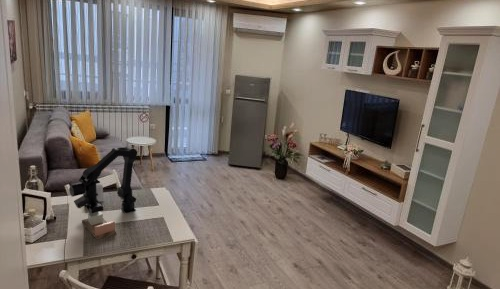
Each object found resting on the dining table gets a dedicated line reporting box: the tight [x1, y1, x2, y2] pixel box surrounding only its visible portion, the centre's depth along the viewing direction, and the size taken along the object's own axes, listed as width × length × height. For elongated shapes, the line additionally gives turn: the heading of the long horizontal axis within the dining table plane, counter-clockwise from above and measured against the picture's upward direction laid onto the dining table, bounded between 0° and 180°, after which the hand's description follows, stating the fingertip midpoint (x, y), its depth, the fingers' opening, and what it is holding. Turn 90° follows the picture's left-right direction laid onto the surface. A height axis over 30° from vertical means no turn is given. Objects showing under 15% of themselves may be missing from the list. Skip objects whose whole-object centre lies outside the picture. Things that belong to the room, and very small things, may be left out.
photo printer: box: [96, 182, 104, 203], centre depth 216 cm, size 10×4×12 cm, turn 123°
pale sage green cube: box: [87, 211, 104, 225], centre depth 190 cm, size 6×5×5 cm
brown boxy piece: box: [81, 218, 117, 240], centre depth 187 cm, size 10×22×6 cm, turn 44°
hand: (92, 217), depth 194 cm, fingers closed
